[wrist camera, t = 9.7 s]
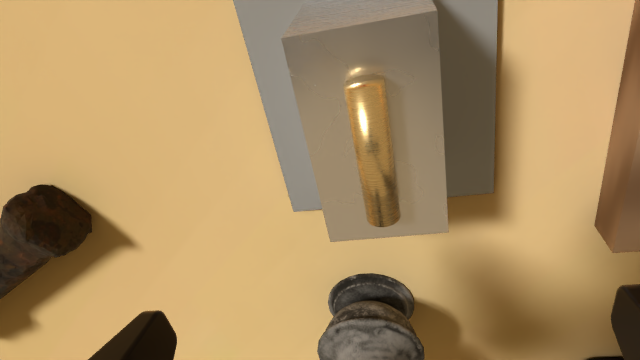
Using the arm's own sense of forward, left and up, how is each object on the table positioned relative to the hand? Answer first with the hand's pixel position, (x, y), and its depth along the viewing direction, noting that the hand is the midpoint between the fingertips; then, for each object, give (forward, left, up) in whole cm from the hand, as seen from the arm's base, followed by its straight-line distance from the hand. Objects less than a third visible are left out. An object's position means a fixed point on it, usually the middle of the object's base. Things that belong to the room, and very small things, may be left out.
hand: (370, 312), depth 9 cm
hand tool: (-9, +25, -13) cm, 30 cm away
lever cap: (0, 0, -12) cm, 12 cm away
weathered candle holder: (-14, +2, -13) cm, 19 cm away
